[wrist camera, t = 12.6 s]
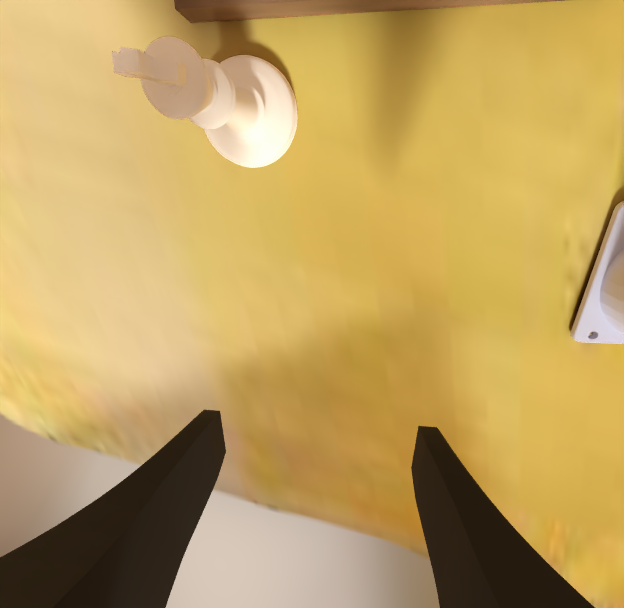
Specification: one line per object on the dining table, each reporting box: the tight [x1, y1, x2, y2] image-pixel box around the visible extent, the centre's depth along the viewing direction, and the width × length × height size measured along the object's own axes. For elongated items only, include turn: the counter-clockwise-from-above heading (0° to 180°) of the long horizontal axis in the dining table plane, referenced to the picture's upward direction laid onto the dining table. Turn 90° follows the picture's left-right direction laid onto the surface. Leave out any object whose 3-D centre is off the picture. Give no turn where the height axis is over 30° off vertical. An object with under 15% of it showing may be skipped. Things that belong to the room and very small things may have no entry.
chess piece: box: [112, 36, 298, 168], centre depth 12 cm, size 5×5×10 cm
